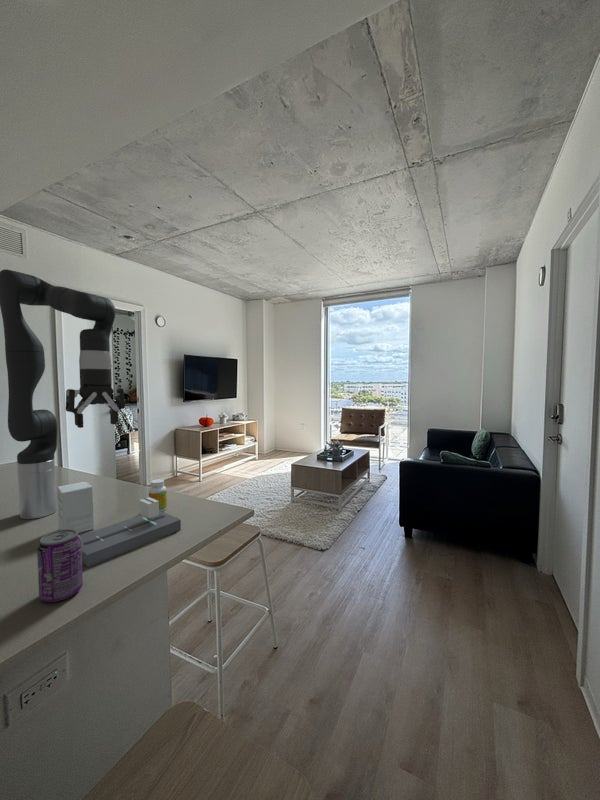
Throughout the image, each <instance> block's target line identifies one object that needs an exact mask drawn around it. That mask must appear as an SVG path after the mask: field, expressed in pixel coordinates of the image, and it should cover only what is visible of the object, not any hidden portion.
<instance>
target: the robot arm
mask: <svg viewBox="0 0 600 800" xmlns="http://www.w3.org/2000/svg"><path fill="white" fill-rule="evenodd" d="M21 305H27V306H37V307H38V306H41V307H42V306H45V307H46V306H49V307H50V308H52V309H54V310H56V311H57V312H58V311H59V312H62V313H64V314H69V315H71V316H72V317H75V318H78V319H81V320H86V321H93V322H95V323H94V325H93V327H92V328H87V329H86V328H84V329H82V330H81V331H80V332H79V361H78V362H79V363H78V364H79V388H78V389H72V388H68V389H66V390H65V392H66V393H65V411H66V412H68V413H72V414H74V425H75V426H77V428H78V429H82V428H84V413H83V412H84V411H85V409H86V408H87V407H88V406H89V405H106V407H108V408H109V410H111V411H109V415H110V422H109V423H110V424H111V425H117V423H118V421H119V411H120V410H123V409H125V408H126V403H125V392H124V391H125V390H124V388H120V387H118V388H113V387H112V384H113V383H112V382H113V381H112V366H113V365H112V359H111V358H112V357H111V351H110V349H111V346H110V343H111V342H110V336H111V333H112V330H113V326H114V321H115V319H116V313H117V312H116V307H115V304H114V303H113V301H112V300H111V299H109V298H108V297H105V296H100V295H97V294H93V293H89V292H85V291H80V290H76V289H72V288H68V287H64V286H55V285H52V284H50V283H49V282H47V281H45V280H44V279H41V278H40V277H37V276H35V275H33V274H29V273H24V272H20V271H16V270H11V269H8V268H7V269H5V268H4V269H2V270H0V313H1V317H2V323H3V324H2V325H3V335H4V347H5V349H4V352H5V353H4V354H5V364H6V372H7V387H8V405H7V406H8V407H7V429H8V432H9V434H10V436H11V438H12V439H13V440H15V441H17V442H21V443H22V442H23V443H24V442H29V443H28V446H27V447H25V448H24V449H23V450H21V451H20V452H18V453H17V455H16V459H17V460H16V462H17V463H16V465H17V485H18V486H17V487H18V489H17V490H18V507H19V508H18V509H19V518H20V519H23V520H34V519H38V518H44V517H47V516H50V515H52V514H53V513H55V512H57V493H56V491H57V489H56V488H57V487H56V468H55V467H56V465H55V463H56V462H55V454H56V451H57V449H58V447H57V446H58V422H57V421H58V420H57V418H56V416H55V415H54V413H53V412H52V411H51V410H48V409H34V407H33V399H34V393H35V390H36V388H37V386H38V384H39V383H40V381H41V379H42V377H43V375H44V372H45V369H46V359H45V357H46V356H45V349H44V346H43V343H42V342H41V340H40V339H39V338H38V336H37V335H36V333H35V332H34V331H33V330H32V328H31V327H30V326H29V324H28V323H27V321H26V319H25V318H24V315H23V311H22V308H21ZM78 395H79V396H80V397H81V399H80V401H79V402H78V403H77V405H76V407H75V403H76V402H75V399H76V398H77V397H78ZM113 395H114V396H115V401H116V403H115V401H114V400H113V399H112V398H111V396H113Z"/></svg>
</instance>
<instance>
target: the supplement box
mask: <svg viewBox="0 0 600 800" xmlns="http://www.w3.org/2000/svg"><path fill="white" fill-rule="evenodd" d="M56 488H57V489H56V491H57V507H58V508H57V509H58V510H57V511H58V528H59V530H63V529H75V530H77V531H78V534H81V533H84V532H87V531H88V532H89V531H91V530H92V531H93V530H94V529H95V525H94V524H95V520H94V517H95V516H94V497H93V496H94V493H93V492H94V491H93V486H92V485H90V484H89V483H88V481H81V482H76V483H70V484H64V485H59V486H57V487H56Z"/></svg>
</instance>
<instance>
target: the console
mask: <svg viewBox="0 0 600 800" xmlns="http://www.w3.org/2000/svg"><path fill="white" fill-rule="evenodd" d="M181 523H182V522H181V518H178V517H175V516H173V515H171V514H169V513H167V512H165V511H160V510H159V515H157V516H154V517H152V518H151V520H147V517H145V516H143V515H141V514H139V515H137V516H134V517H132V518H129V519H126V520H122V521H119V522H117V523H114V524H110V525H107V526H104V527H100V528H98V529H95V530H92V531H88V532H86V533H84V534H79V535H78V536H79V537H80V538H81V552H82V565H84V566H86V567H87V568H90V567H93V566H95V565H98V564H100V563H103V562H105V561H108V560H110V559H113V558H115V557H117V556H120V555H122V554H125V553H127V552H130V551H132V550H134V549H137V548H139V547H143V546H144V545H147V544H149V543H152V542H154V541H157V540H159V539H161V538H164V537H166V536H169V535H171V534H174V533H176V532H179V531H181V530H182V525H181Z"/></svg>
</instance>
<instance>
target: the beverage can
mask: <svg viewBox="0 0 600 800" xmlns="http://www.w3.org/2000/svg"><path fill="white" fill-rule="evenodd" d="M79 536H80V535H79V533H78V531H77V530H75V529H63V530H60V529H59V530H56V531H55V530H54V531H52V532H49V533H47V534H45V535H43V536H42V537H41V538H40V539H39V545H38V548H37V550H36V554H37V557H36V558H37V571H38V572H37V575H38V579H37V580H38V598H39V600H40V601H41V602H44V603H45V602H47V603H49V602H50V603H51V602H52V603H53V602H54V603H55V602H60V600H61V601H63V600H65V599H68V598H70V597H72V596H73V595H74V594H76V593H77V592H79V591H80V590H81V589H82V587H83V584H84V581H83V579H84V578H83V563H82V552H81V538H80V537H79Z"/></svg>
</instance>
